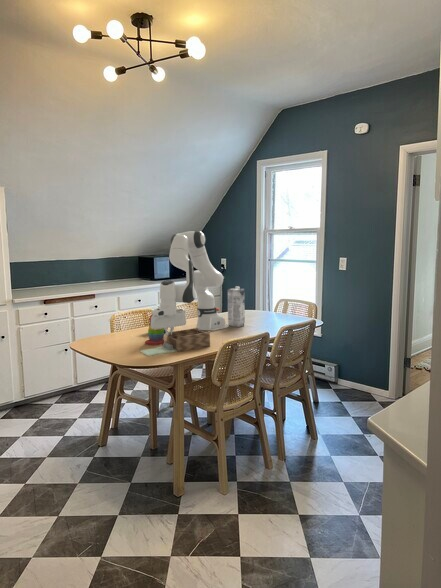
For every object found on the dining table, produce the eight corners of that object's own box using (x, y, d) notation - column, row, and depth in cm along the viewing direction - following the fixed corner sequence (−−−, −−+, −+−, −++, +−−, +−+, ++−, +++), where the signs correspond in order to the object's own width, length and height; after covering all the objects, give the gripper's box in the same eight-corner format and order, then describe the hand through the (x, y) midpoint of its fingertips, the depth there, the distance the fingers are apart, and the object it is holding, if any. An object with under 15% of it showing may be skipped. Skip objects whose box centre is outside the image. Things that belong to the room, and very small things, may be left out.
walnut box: (197, 341, 257) (197, 327, 256) (210, 346, 246) (209, 332, 245) (167, 346, 247) (166, 332, 246) (178, 352, 235) (178, 337, 234)
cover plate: (168, 347, 246) (167, 341, 246) (176, 352, 237) (176, 345, 236) (139, 352, 237) (139, 346, 236) (147, 357, 228) (147, 350, 227)
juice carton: (238, 327, 292) (238, 288, 288) (226, 325, 298) (225, 287, 294) (246, 325, 299) (246, 286, 295) (233, 323, 305) (233, 285, 301)
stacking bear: (157, 339, 262) (156, 311, 260) (168, 342, 256) (167, 312, 253) (143, 343, 254) (142, 313, 251) (155, 346, 248) (153, 315, 245)
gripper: (182, 307, 245) (183, 331, 247) (148, 311, 234) (149, 336, 236) (187, 309, 240) (188, 333, 242) (153, 313, 229) (154, 338, 231)
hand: (169, 335), depth 239 cm, fingers closed
